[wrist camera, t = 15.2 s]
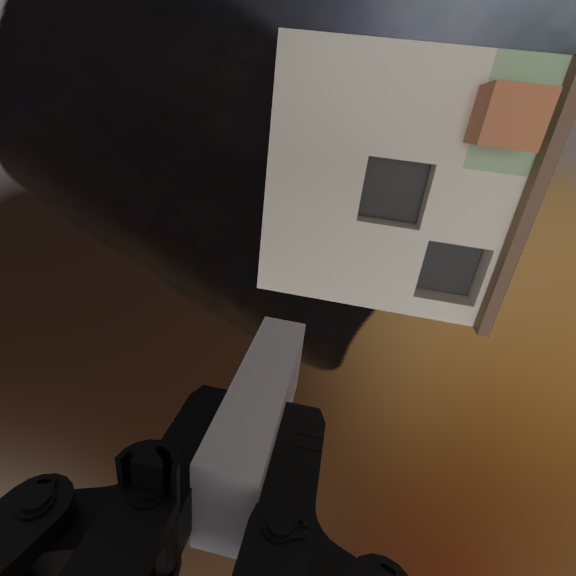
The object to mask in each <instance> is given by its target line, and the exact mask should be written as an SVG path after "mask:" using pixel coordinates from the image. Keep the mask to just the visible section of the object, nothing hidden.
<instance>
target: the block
mask: <svg viewBox="0 0 576 576" xmlns="http://www.w3.org/2000/svg"><path fill="white" fill-rule="evenodd" d="M562 88H563V86H554V85H545V84H536V83H527V82H518V81H509V80H499V79H496V80H493V81H490V82H487V83H484V84H481V85H479V89H478V92H477V96H476V99H475V102H474V106H473V109H472V113H471V116H470V120H469V123H468V126H467V130H466V133H465V137H464V140H463V143H468V144H473V145H479V146H487V147H495V148H502V149H510V150H518V151H525V152H533V153H538V152H539V149H540V147H541V144H542V141H543V139H544V136H545V133H546V131H547V128H548V125H549V123H550V120H551V117H552V115H553V112H554V109H555V107H556V104H557V101H558V99H559V96H560V93H561V91H562Z"/></svg>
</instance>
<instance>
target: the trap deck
mask: <svg viewBox="0 0 576 576" xmlns="http://www.w3.org/2000/svg"><path fill="white" fill-rule="evenodd" d="M496 79H499V80H509V81H518V82H527V83H536V84H545V85H554V86H563V88H562V91H561V93H560V96H559V99H558V101H557V104H556V107H555V109H554V112H553V115H552V117H551V120H550V123H549V125H548V128H547V131H546V133H545V136H544V139H543V141H542V144H541V147H540V149H539V152H538V153H533V152H525V151H518V150H510V149H502V148H495V147H487V146H479V145H473V144H468V143H463V140H464V137H465V133H466V130H467V126H468V123H469V120H470V116H471V113H472V109H473V106H474V102H475V99H476V96H477V92H478V89H479V85H481V84H484V83H487V82H490V81H493V80H496ZM575 116H576V54H575V55H565V54H555V53H544V52H533V51H523V50H512V49H502V48H491V47H480V46H470V45H459V44H449V43H438V42H427V41H417V40H406V39H396V38H385V37H374V36H364V35H353V34H342V33H332V32H321V31H311V30H300V29H289V28H278V40H277V52H276V64H275V76H274V88H273V100H272V112H271V124H270V136H269V148H268V160H267V172H266V184H265V196H264V208H263V220H262V232H261V244H260V256H259V268H258V280H257V288H261V289H266V290H272V291H277V292H283V293H289V294H294V295H300V296H305V297H311V298H316V299H322V300H327V301H333V302H338V303H344V304H350V305H355V306H361V307H366V308H372V309H377V310H383V311H388V312H394V313H400V314H405V315H411V316H416V317H422V318H428V319H433V320H439V321H444V322H449V323H455V324H460V325H466V326H471V327H473V328H474V330H475V331H476V334H477V335H481V336H486V337H489V335H490V332H491V330H492V327H493V324H494V322H495V319H496V317H497V314H498V312H499V309H500V307H501V304H502V302H503V299H504V297H505V294H506V291H507V289H508V286H509V284H510V281H511V279H512V276H513V274H514V271H515V269H516V266H517V264H518V261H519V259H520V256H521V254H522V251H523V249H524V246H525V243H526V241H527V238H528V236H529V232H530V231H531V228H532V226H533V223H534V221H535V218H536V216H537V213H538V210H539V208H540V205H541V203H542V200H543V198H544V195H545V193H546V190H547V188H548V185H549V183H550V180H551V177H552V175H553V173H554V170H555V167H556V165H557V162H558V160H559V157H560V155H561V152H562V150H563V147H564V145H565V142H566V139H567V137H568V135H569V132H570V129H571V127H572V124H573V122H574V119H575ZM430 166H431V167H430ZM429 170H430V171H429ZM428 174H429V175H428ZM427 178H428V179H427ZM424 189H425V190H424ZM423 193H424V194H423ZM422 197H423V198H422ZM421 201H422V202H421ZM420 205H421V206H420ZM369 216H370V217H369ZM417 216H418V217H417ZM389 219H390V220H389ZM416 220H417V221H416ZM402 221H403V222H402Z"/></svg>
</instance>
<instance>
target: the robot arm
mask: <svg viewBox="0 0 576 576" xmlns="http://www.w3.org/2000/svg"><path fill="white" fill-rule="evenodd" d="M305 326H306V324H302V323H297V322H291V321H286V320H281V319H275V318H270V317H265V318H264V320H263V322H262V324H261V326H260V328H259V330H258V332H257V334H256V336H255V338H254V340H253V342H252V344H251V345H250V348H249V349H248V351H247V353H246V355H245V358H244V359H243V361H242V363H241V365H240V367H239V369H238V371H237V373H236V375H235V377H234V379H233V381H232V383H231V385H230V387H229V389H228V390H225V389H220V388H215V387H211V386H206V385H203V386H201V387H200V388H199V389H197V390H196V391H195V392H193V393H192V394H190V395H189V397H188V398H187V400H186V402H185V403H184V405H183V406H182V408H181V411H179V413H178V414H177V416H176V417H175V419H174V422H172V424H171V425H170V427H169V428H168V430H167V432H166V433H165V435H164V436H163V438H162V439H161V440H150V439H149V440H144V441H140V442H136V443H134V444H132V445H130V446H128V447H127V448H125V449H124V450H122V451H121V452H120V453H119V454H118V455H117V456H116V457H115V462H116V470H117V479H118V484H116V485H112V486H107V487H98V488H83V489H74V487H73V483H72V482H71V481H70V480H69V479H68V478H67V477H66V476H63V475H60V474H56V473H54V474H42V475H39V476H36V477H33V478H30V479H28V480H26V481H24V482H23V483H21V484H19V485H18V486H16V487H14V488H13V489H12V490H10V491H9V492H8V493H7V494H5V495H4V496H3V497H1V498H0V576H179V572H180V568H181V563H182V562H181V555H182V552H183V550H184V547H185V545H186V542H187V540H188V538H189V536H190V547H193V548H197V549H200V550H204V551H208V552H212V553H215V554H219V555H223V556H226V557H230V558H234V559H237V560H236V564H235V567H234V570H233V574H232V576H408V575H407V574H406V572H405V571H404V570H403V569H402V568H401V567H400V566H399V565H398V564H397V563H395V562H394V561H392V560H391V559H389V558H387V557H386V556H382V555H377V554H373V553H371V554H367V555H362V556H359V557H358V558H356V557H355V556H353V555H351V554H350V553H348V552H347V551H345V550H344V549H342V548H341V547H339V546H338V545H336V544H335V543H334V542H333V541H331V540H330V539H329V538H328V536H327V535H326V534H325V533H324V532H323V530H322V528H321V526H320V524H319V522H318V520H317V516H316V510H315V509H316V507H315V506H316V505H315V504H316V503H315V502H316V494H317V487H318V479H319V471H320V463H321V455H322V447H323V439H324V431H325V421H324V418H323V415H322V413H321V410H320V409H319V408H315V407H310V406H305V405H300V404H296V403H292V402H293V398H294V394H295V389H296V386H297V380H298V373H299V367H300V360H301V353H302V346H303V339H304V333H305Z"/></svg>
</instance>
